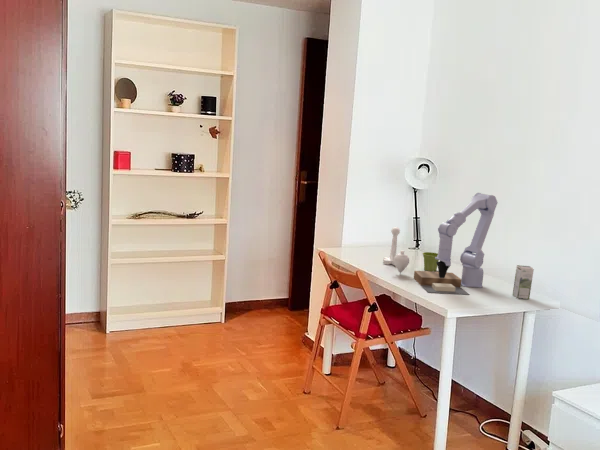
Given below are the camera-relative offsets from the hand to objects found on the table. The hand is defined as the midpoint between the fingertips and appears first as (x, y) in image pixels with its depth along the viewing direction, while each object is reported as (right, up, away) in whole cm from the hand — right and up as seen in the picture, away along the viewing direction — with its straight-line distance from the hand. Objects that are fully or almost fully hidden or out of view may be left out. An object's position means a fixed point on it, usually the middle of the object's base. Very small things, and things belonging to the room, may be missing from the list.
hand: (441, 277), depth 288 cm
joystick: (-18, +3, +43) cm, 47 cm away
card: (0, -3, -4) cm, 5 cm away
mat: (+1, -6, -4) cm, 7 cm away
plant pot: (+2, +1, +35) cm, 35 cm away
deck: (0, -3, +9) cm, 9 cm away
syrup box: (+34, -9, -6) cm, 36 cm away
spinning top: (-16, 0, +21) cm, 26 cm away
